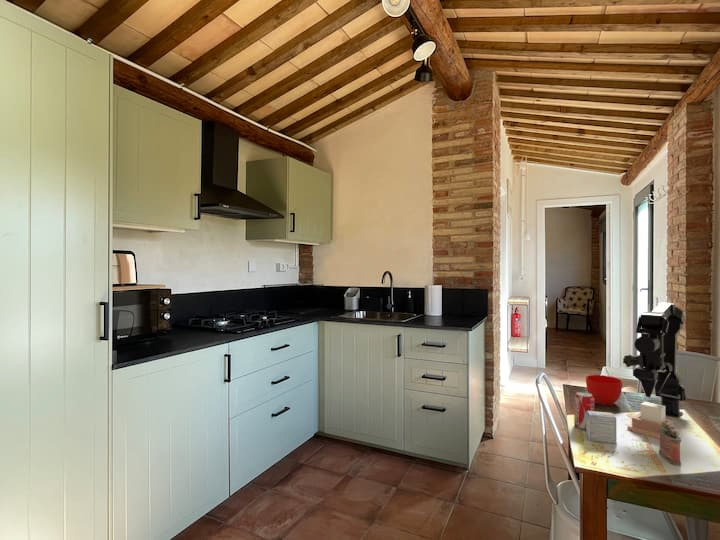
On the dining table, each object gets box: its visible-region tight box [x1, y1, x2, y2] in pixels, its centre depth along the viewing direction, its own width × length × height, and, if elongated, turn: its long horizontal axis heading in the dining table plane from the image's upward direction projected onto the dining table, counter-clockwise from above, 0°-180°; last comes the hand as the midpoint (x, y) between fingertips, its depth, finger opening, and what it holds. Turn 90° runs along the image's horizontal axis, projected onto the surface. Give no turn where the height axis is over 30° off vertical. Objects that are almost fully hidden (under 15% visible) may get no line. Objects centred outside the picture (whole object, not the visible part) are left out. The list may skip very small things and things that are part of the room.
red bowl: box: [585, 374, 623, 406], centre depth 167 cm, size 13×17×10 cm
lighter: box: [658, 422, 682, 467], centre depth 117 cm, size 8×3×10 cm, turn 168°
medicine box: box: [586, 410, 618, 444], centre depth 130 cm, size 8×4×9 cm, turn 71°
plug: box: [640, 401, 666, 424], centre depth 136 cm, size 4×6×8 cm, turn 36°
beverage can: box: [573, 391, 595, 431], centre depth 140 cm, size 6×6×12 cm
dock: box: [627, 412, 680, 440], centre depth 136 cm, size 10×12×4 cm
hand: (653, 394), depth 137 cm, fingers open, 9 cm apart
